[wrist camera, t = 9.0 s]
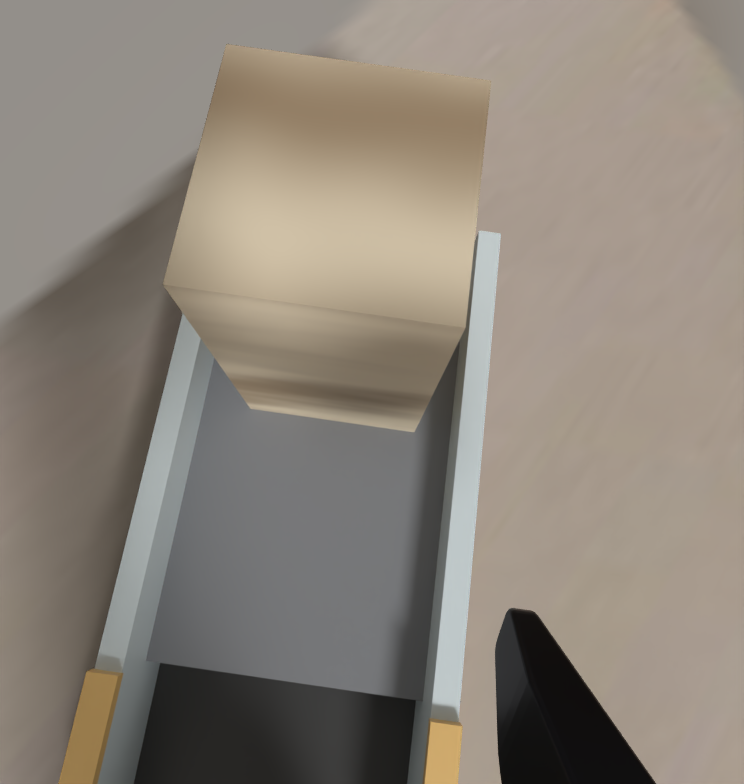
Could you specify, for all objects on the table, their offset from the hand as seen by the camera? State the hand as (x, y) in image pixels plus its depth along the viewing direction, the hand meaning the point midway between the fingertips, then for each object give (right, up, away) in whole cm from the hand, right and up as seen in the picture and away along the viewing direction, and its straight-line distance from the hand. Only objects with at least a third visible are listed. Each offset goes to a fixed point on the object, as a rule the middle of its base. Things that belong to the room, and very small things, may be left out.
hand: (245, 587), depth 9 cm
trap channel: (0, -3, +12) cm, 13 cm away
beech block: (+1, +5, +12) cm, 13 cm away
